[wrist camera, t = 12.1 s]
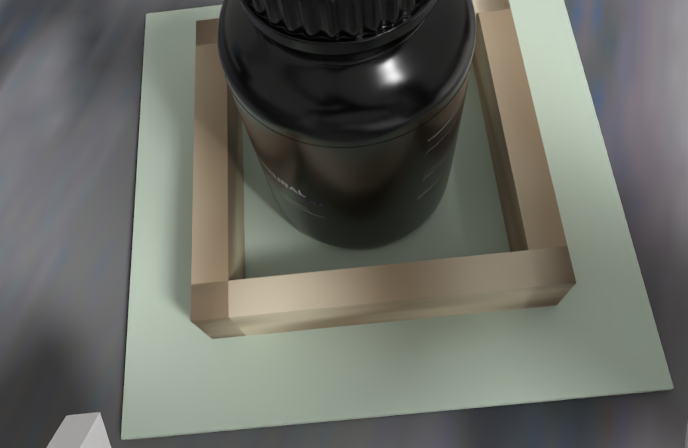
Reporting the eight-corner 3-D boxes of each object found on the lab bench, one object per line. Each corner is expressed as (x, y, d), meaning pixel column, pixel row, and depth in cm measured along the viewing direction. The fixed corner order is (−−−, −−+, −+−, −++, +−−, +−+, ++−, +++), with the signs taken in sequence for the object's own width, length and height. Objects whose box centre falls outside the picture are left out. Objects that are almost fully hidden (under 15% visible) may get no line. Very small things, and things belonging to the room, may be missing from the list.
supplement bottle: (246, 230, 23) (110, -3, 12) (304, 82, 26) (234, -224, 15) (426, 277, 22) (456, 64, 11) (469, 117, 24) (529, -190, 13)
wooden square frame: (212, 339, 22) (190, 321, 19) (213, 61, 26) (196, 20, 24) (556, 305, 21) (576, 282, 19) (495, 28, 26) (505, -16, 24)
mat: (125, 440, 21) (121, 439, 21) (149, 20, 28) (146, 13, 28) (668, 390, 20) (673, 388, 20) (551, -28, 27) (553, -35, 27)
